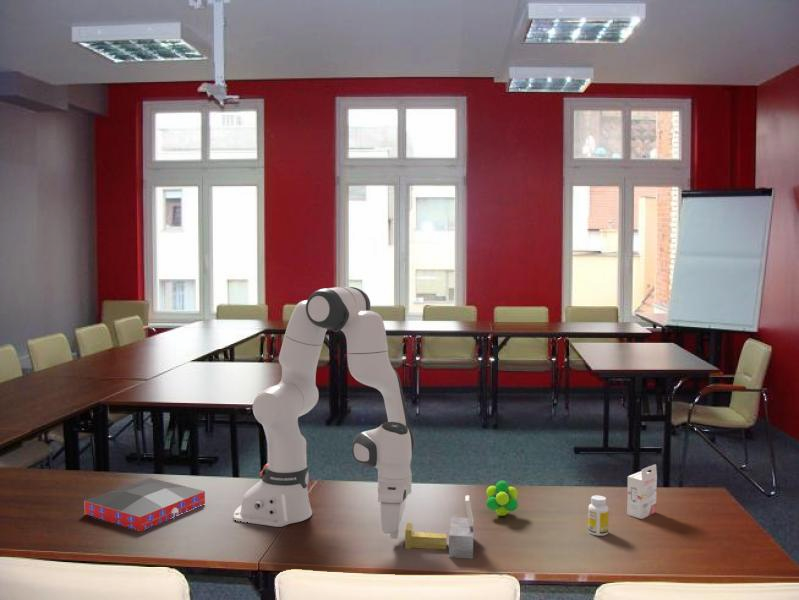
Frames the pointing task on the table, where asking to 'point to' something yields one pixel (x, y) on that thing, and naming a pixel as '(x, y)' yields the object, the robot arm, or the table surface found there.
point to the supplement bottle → (598, 516)
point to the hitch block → (460, 538)
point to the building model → (144, 503)
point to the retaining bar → (469, 511)
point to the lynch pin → (424, 539)
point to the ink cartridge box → (642, 493)
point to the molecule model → (502, 498)
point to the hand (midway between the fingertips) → (394, 536)
